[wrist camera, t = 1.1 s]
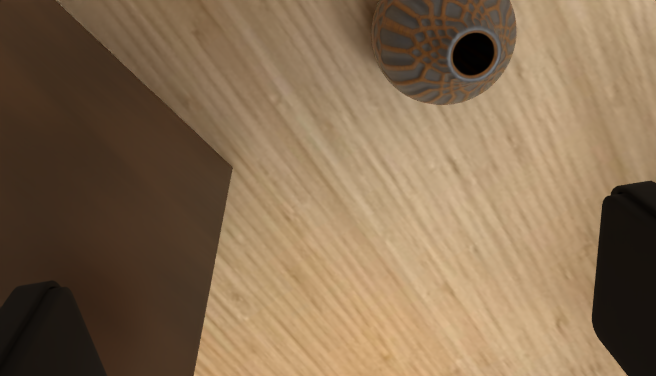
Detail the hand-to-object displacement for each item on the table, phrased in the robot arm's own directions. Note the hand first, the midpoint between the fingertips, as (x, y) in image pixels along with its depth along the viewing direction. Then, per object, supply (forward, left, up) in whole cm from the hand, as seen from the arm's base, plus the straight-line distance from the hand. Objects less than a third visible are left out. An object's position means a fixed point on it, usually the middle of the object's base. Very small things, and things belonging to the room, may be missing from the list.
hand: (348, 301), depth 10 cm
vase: (+4, +6, -24) cm, 25 cm away
